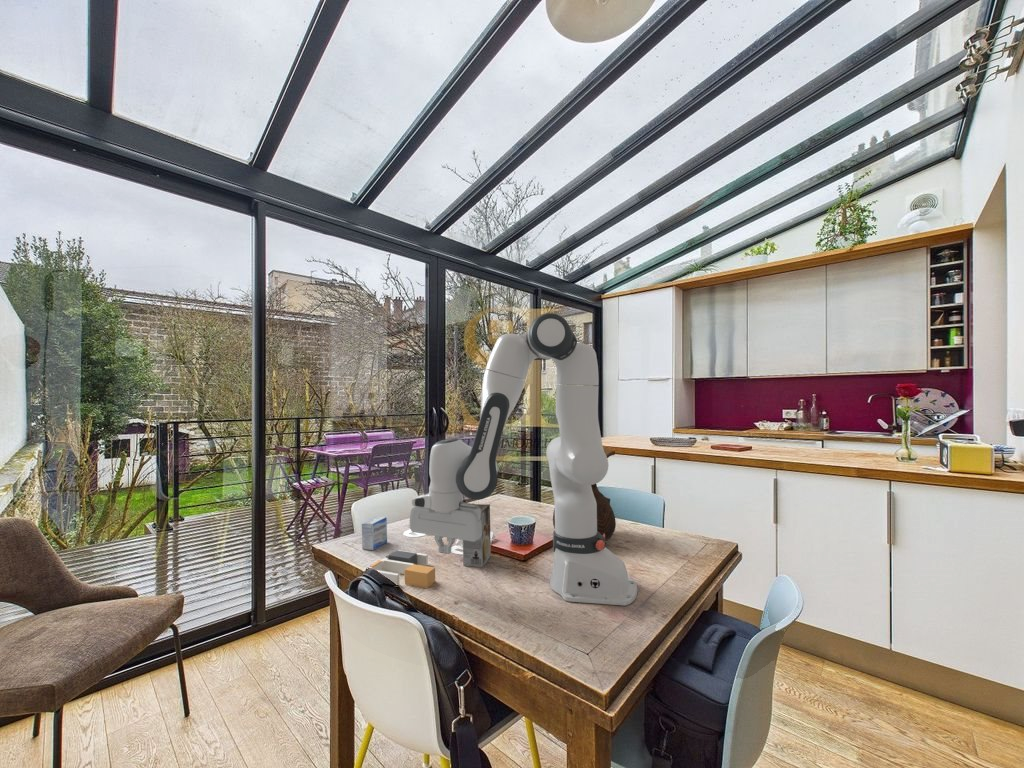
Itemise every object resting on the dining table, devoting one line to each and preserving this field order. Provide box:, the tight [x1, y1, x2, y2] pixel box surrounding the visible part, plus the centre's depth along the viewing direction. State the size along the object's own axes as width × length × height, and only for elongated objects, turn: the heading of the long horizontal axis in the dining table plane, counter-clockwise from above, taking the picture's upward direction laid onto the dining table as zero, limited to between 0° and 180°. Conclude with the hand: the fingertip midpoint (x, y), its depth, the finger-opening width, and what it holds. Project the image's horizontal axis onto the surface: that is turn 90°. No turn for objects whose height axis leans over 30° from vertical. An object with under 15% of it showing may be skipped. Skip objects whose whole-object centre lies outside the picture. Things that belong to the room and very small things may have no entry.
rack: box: [364, 549, 429, 586], centre depth 126 cm, size 10×15×3 cm
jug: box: [552, 447, 617, 542], centre depth 150 cm, size 22×22×30 cm
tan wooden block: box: [404, 564, 436, 589], centre depth 119 cm, size 7×4×4 cm, turn 69°
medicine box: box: [361, 516, 388, 551], centre depth 147 cm, size 8×4×9 cm, turn 161°
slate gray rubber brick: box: [388, 549, 418, 565], centre depth 130 cm, size 7×4×4 cm, turn 69°
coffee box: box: [462, 503, 492, 568], centre depth 134 cm, size 9×6×16 cm
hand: (444, 552), depth 116 cm, fingers closed
